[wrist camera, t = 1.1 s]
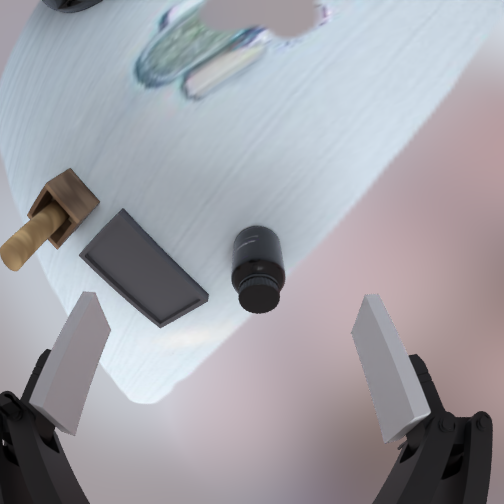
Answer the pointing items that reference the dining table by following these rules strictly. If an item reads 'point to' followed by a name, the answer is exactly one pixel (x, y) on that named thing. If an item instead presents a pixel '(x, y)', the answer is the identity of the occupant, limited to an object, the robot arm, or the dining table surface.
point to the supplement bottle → (258, 269)
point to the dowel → (32, 235)
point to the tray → (142, 271)
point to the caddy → (66, 203)
